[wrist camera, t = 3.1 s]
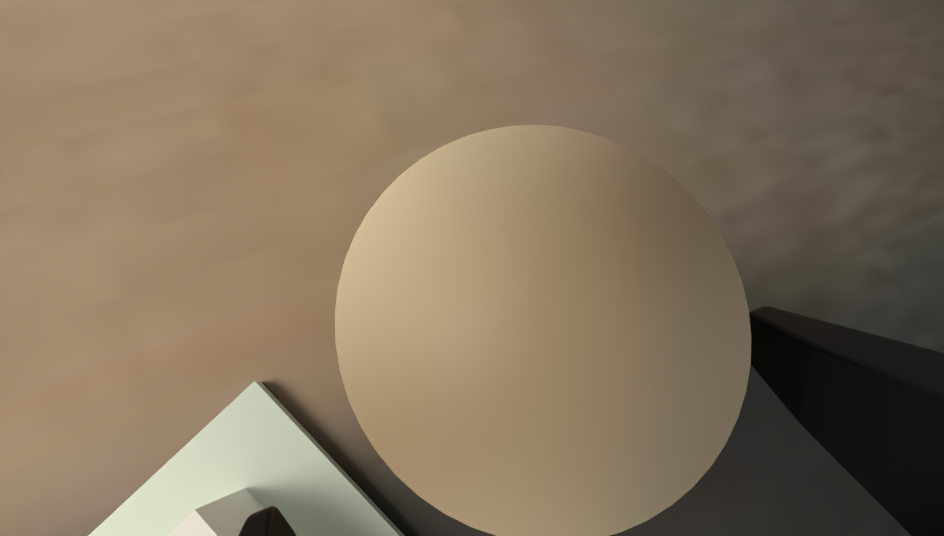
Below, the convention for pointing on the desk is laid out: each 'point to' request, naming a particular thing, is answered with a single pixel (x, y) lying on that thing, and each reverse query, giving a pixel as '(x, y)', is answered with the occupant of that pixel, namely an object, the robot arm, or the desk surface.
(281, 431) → the socket
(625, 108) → the desk surface
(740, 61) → the desk surface
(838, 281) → the desk surface
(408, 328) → the peg
